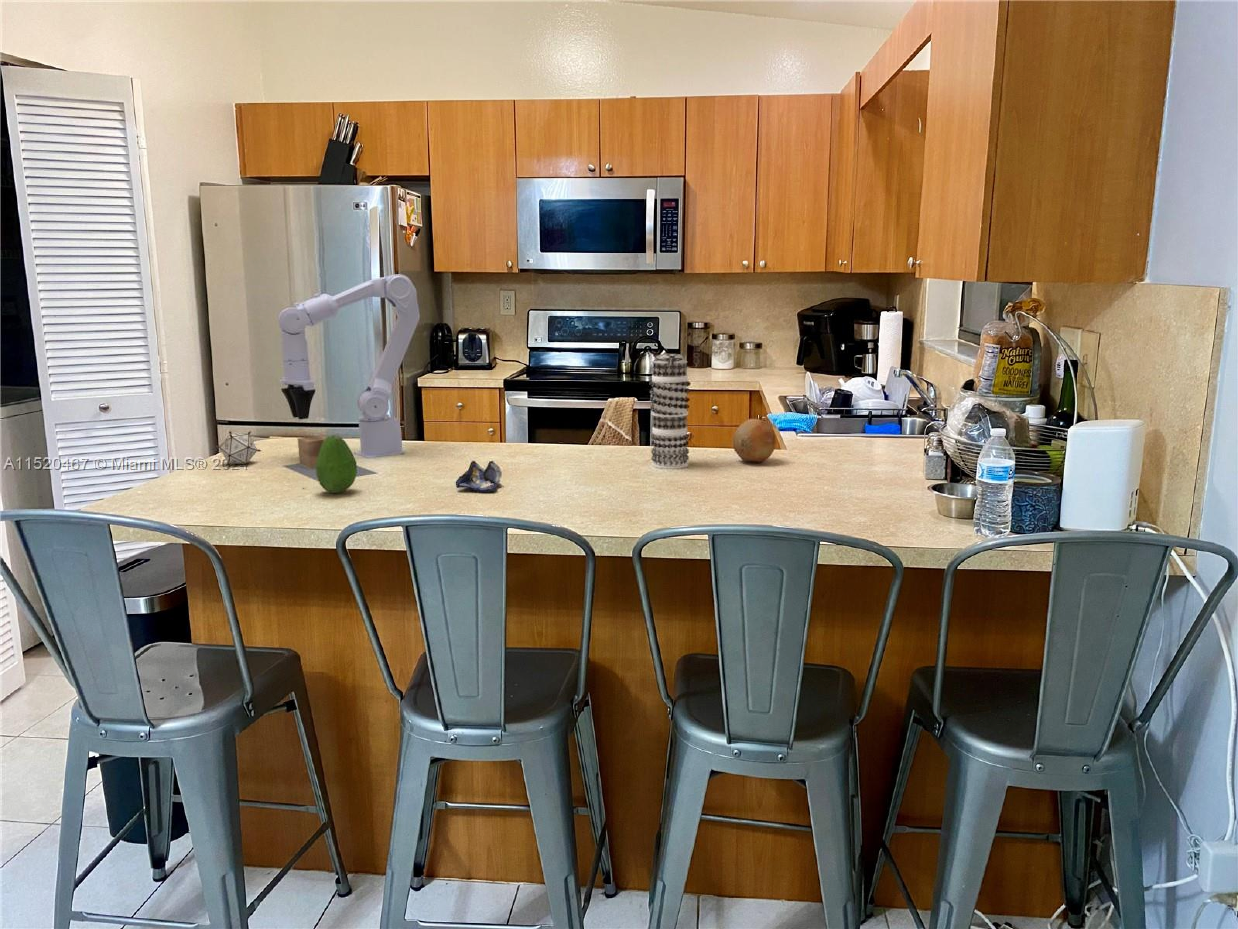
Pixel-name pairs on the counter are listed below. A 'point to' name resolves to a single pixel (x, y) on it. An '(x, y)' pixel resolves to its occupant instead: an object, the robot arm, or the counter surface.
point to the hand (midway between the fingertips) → (300, 417)
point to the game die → (238, 448)
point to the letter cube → (310, 450)
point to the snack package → (480, 477)
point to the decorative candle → (669, 411)
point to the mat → (312, 472)
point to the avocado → (335, 465)
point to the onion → (754, 441)
